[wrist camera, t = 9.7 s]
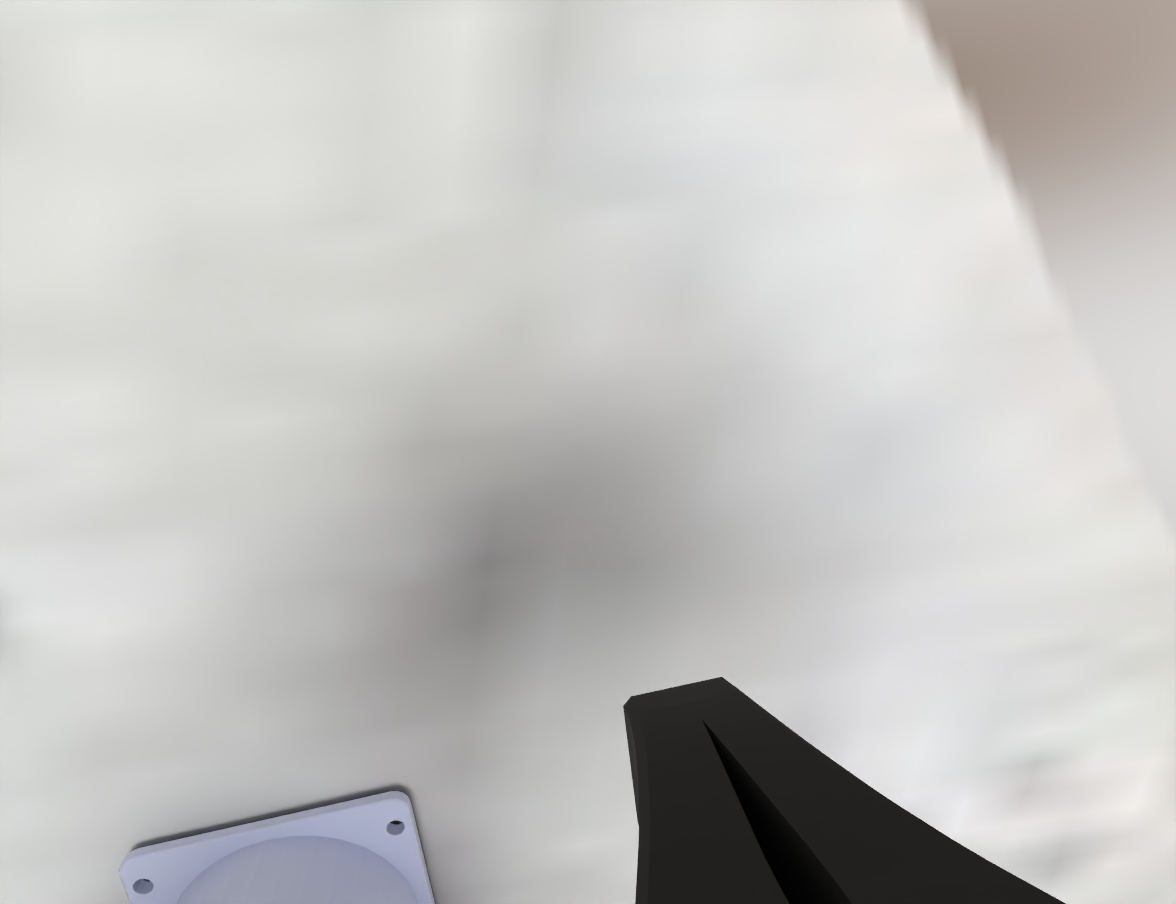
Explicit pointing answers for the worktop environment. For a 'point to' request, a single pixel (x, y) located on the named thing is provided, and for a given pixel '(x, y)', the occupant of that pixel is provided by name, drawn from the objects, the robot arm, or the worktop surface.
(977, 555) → the worktop surface
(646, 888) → the robot arm
